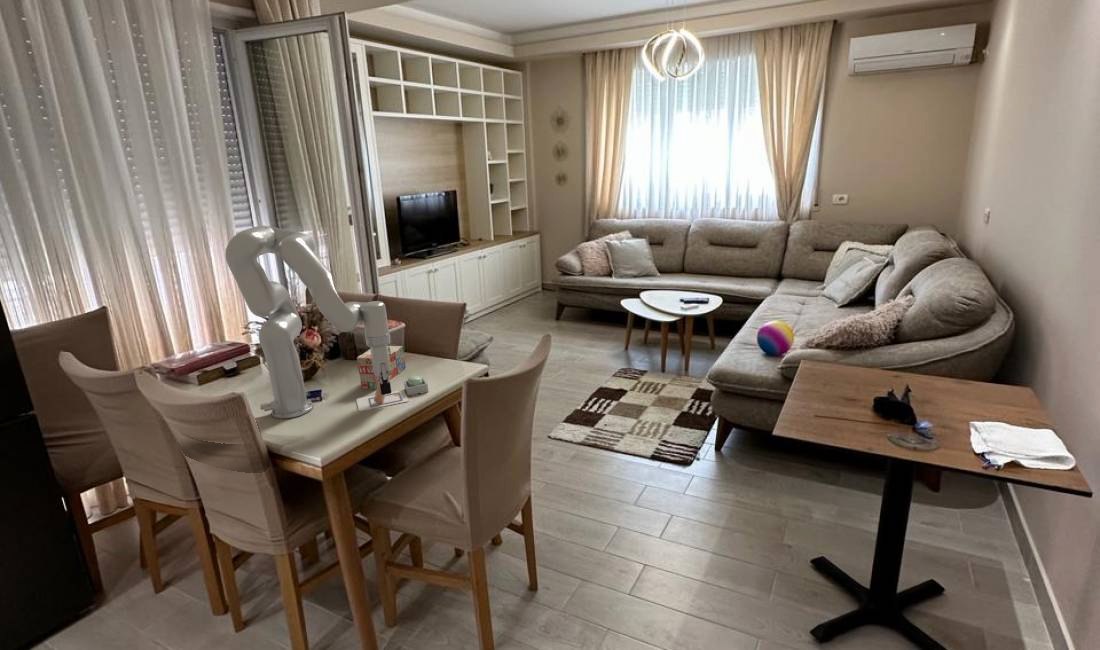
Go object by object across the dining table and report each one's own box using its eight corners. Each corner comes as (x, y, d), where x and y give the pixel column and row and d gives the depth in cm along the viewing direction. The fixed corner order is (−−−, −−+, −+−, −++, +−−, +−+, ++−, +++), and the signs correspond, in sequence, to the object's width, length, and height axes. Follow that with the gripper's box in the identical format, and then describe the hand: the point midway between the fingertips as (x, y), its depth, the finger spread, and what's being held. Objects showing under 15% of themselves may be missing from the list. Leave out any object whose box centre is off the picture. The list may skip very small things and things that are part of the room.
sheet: (358, 411, 186) (358, 410, 186) (356, 399, 196) (356, 398, 196) (408, 401, 192) (408, 400, 191) (403, 390, 201) (403, 389, 201)
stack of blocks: (391, 368, 225) (387, 338, 221) (406, 368, 223) (402, 338, 219) (361, 389, 205) (356, 357, 201) (377, 390, 203) (372, 357, 200)
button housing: (407, 396, 196) (406, 387, 195) (404, 389, 202) (403, 381, 202) (428, 392, 199) (427, 384, 198) (424, 385, 205) (423, 377, 204)
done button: (410, 390, 197) (409, 381, 196) (407, 385, 201) (406, 377, 201) (424, 387, 199) (423, 379, 198) (421, 382, 203) (420, 374, 202)
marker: (374, 402, 189) (383, 369, 187) (372, 398, 192) (381, 366, 190) (384, 403, 190) (393, 371, 189) (382, 399, 193) (391, 368, 192)
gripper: (363, 334, 192) (371, 385, 197) (368, 348, 177) (376, 403, 183) (386, 331, 195) (394, 381, 200) (393, 344, 180) (400, 398, 185)
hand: (385, 391), depth 191 cm, fingers closed on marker, 3 cm apart
